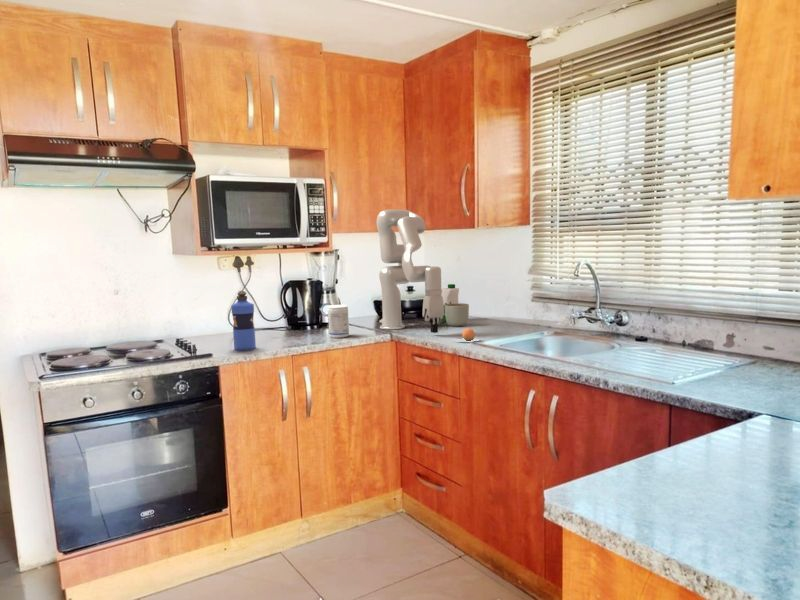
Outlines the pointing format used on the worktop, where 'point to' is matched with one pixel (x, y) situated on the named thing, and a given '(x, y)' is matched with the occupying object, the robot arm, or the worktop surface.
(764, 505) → the worktop surface
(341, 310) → the supplement tub
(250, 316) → the water bottle
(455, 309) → the planter
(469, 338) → the ball
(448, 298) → the milk carton
